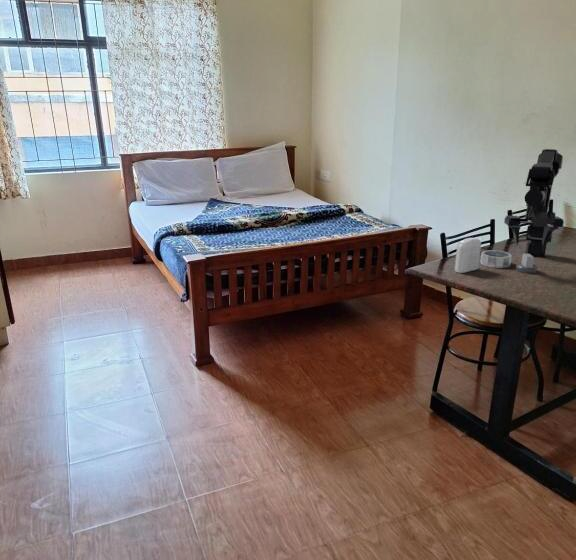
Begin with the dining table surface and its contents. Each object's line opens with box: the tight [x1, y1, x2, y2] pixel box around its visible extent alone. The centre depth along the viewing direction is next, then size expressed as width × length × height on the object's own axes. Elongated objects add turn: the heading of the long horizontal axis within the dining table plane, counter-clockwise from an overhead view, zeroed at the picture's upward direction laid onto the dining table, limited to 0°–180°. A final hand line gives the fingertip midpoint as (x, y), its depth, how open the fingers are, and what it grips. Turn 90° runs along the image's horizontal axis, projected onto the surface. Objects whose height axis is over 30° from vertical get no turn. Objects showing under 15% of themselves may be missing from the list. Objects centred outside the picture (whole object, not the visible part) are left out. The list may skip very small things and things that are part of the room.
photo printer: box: [454, 237, 482, 274], centre depth 185 cm, size 10×4×12 cm, turn 123°
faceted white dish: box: [479, 249, 513, 269], centre depth 195 cm, size 11×11×4 cm
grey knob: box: [515, 253, 538, 275], centre depth 186 cm, size 7×7×6 cm
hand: (530, 244), depth 184 cm, fingers open, 9 cm apart
